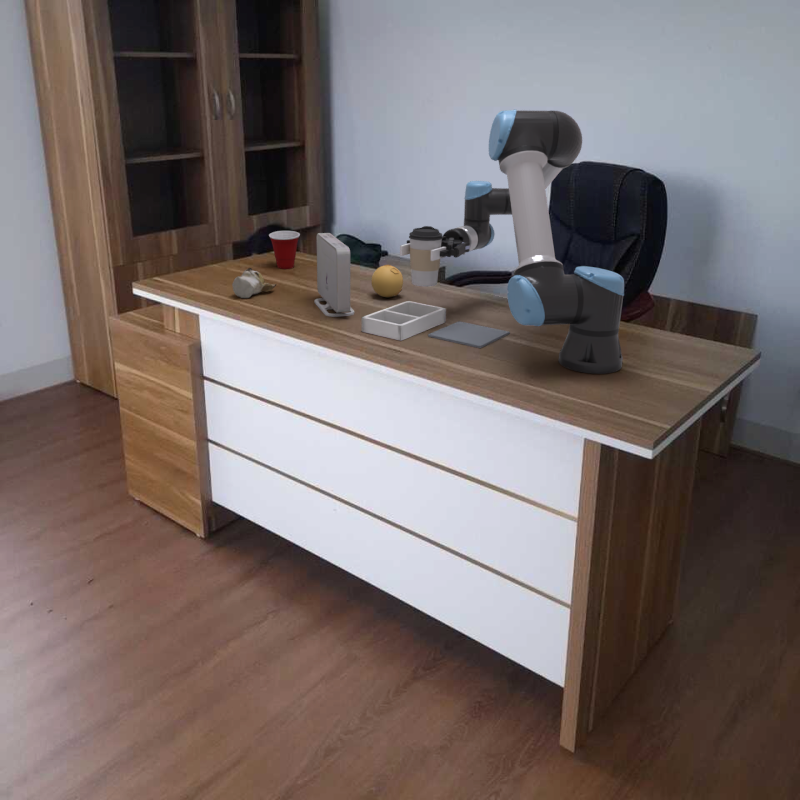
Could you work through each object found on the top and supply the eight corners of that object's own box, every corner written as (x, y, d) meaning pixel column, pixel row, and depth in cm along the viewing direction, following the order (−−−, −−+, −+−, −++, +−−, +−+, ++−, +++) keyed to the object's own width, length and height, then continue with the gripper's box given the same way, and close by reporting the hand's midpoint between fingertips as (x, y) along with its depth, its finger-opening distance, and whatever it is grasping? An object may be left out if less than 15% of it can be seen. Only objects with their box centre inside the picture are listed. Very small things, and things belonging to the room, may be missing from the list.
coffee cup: (438, 288, 219) (440, 232, 213) (405, 286, 221) (406, 230, 215) (443, 280, 227) (445, 226, 222) (410, 278, 229) (412, 224, 223)
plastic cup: (265, 269, 287) (264, 235, 282) (275, 263, 297) (274, 230, 292) (295, 271, 285) (295, 237, 281) (304, 265, 295) (303, 231, 291)
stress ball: (392, 302, 250) (393, 270, 246) (365, 297, 254) (365, 265, 250) (408, 295, 258) (409, 264, 254) (381, 291, 262) (382, 260, 258)
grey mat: (509, 333, 222) (509, 331, 222) (480, 348, 210) (480, 346, 210) (458, 323, 230) (459, 321, 230) (427, 336, 218) (428, 334, 218)
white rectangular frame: (445, 322, 231) (446, 308, 230) (401, 340, 214) (401, 326, 213) (407, 314, 238) (407, 300, 236) (361, 331, 221) (361, 317, 220)
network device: (310, 297, 253) (309, 232, 245) (337, 296, 255) (337, 231, 248) (329, 320, 230) (329, 249, 223) (359, 318, 233) (360, 248, 225)
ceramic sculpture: (222, 269, 248) (248, 262, 261) (223, 297, 250) (249, 289, 264) (253, 273, 244) (278, 266, 257) (253, 301, 247) (278, 293, 260)
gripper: (492, 259, 230) (450, 273, 213) (426, 249, 241) (382, 261, 224) (493, 232, 228) (452, 244, 210) (427, 223, 239) (382, 234, 221)
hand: (416, 253), depth 217 cm, fingers closed on coffee cup, 9 cm apart
